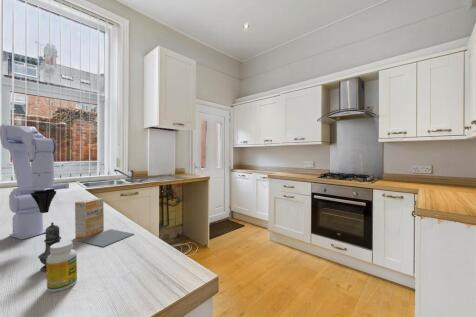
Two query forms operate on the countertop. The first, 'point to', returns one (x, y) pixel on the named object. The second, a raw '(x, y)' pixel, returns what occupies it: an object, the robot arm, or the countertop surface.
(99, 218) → the supplement box
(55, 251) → the supplement bottle
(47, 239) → the stone chess piece
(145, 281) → the countertop surface
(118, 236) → the slate mat
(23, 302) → the countertop surface
